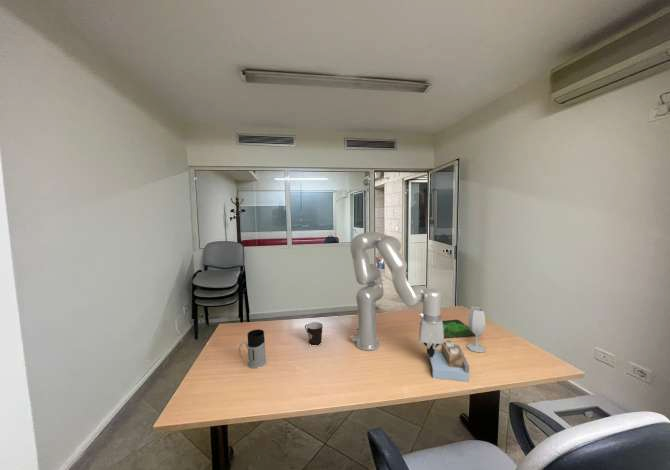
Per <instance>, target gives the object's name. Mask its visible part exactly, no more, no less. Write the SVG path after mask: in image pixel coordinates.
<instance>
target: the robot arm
mask: <svg viewBox="0 0 670 470" xmlns="http://www.w3.org/2000/svg"><path fill="white" fill-rule="evenodd" d="M401 243H402V242H400V240H399V239H398V238H396V237H394V236H391V235H388V234H384V233H381V232H378V231H377V232H376V231H371V232H363V233H359V234H358V235H356V236H354V237H353V239H352V240H351V242H350V246H349V248H350V254H351V258H352V262H353V270H354V276H355V280H356V282H357V283H358V284H359V285H363V287H362V288H360V289H359V290H357V292H356V295H355V298H356V303H357V312H358V315H357V317H358V318H357V319H358V321H357V322H358V323H357V325H358V328H357V329H358V330H357V331H358V334H356V335H353V334H351V335H350V340H351V341H352V342H355V346H356V347H357V349H359V350H363V351H375V350H378V349H379V347H380V341H379V340H378V339H377V310H376V307H375V303H376V302H378V301H380V300H381V299H382V298H383V296H384V286H383V285H384V284H383V279H382V273H381V270H380V268H379V267H378V266H377V264H374V263H371V262H370V258H369V255H368V253H367V250H370V249H377V251H378V253H379V254H380V256H381V258H382V260H383V261H384V263H385V264H386V266H387V268H388V270H389V271H390V274H391V280H392V284H393V286H394V289H395V290H394V291H396V293H397V295H398V297H399V298H400V300H401V301H402V303H404V305H406V306H408V307H415V306H417V305H418V304H419V303H422V312H421V313H419V317H421V319H420V322H419V323H420V324H419V332H418V336H419V337H418V342H419V344H422V345H424V346H425V347H426V354H427V355H428V354H429V357H433V355H434V352H435V349H436V348H437V347H439V346H442V345H443V344H444V342H445V341H444V340H445V339H444V329H443V322H442V321H443V320H442V319H441V317H442V314H441V313H442V312H441V311H442V293H441V291H440V290H439V289H435V288H429V287H425V286H423V285H418V284H416V285H413V286H411V284H410V283H409V281H408V279H407V269H408V265H407V262H406V260H405V259H404V257H403V255H402V254H401V252H400V251H401V249H402V244H401ZM364 285H365V286H364Z"/></svg>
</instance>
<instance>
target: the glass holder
mask: <svg viewBox="0 0 670 470" xmlns="http://www.w3.org/2000/svg"><path fill="white" fill-rule="evenodd" d="M265 337H266V336H265V331H264V330H263V329H252V330H250V331H249V332H247V341H243V342H241V343H240V344H239V347H238V353H239V356H240V358H241V359H242V360H244V361H246V362H247V367H248V366H249V367H248V368H250V367H251V368H250V369H259V368H258V367H260V368H262V367H264V366H265V365H266V364H267V363H266V360H267V359H266V340H265ZM243 344H245V346H246V349H247V356H248V359H246V358H245V357H243V356H242V353H241V347H242V345H243ZM265 363H266V364H265ZM264 364H265V365H264ZM263 365H264V366H263ZM261 366H262V367H261Z"/></svg>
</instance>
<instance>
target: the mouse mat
mask: <svg viewBox="0 0 670 470" xmlns="http://www.w3.org/2000/svg"><path fill="white" fill-rule="evenodd" d="M442 322H443V329H444V340H445V339H457V338H470V337H475V334H474V333H473V332H472V331H471V330H470V329H469V325H466V324H465V323H464V322H463V321H462V320H460V319H449V320H442Z"/></svg>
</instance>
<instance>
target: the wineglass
mask: <svg viewBox="0 0 670 470" xmlns="http://www.w3.org/2000/svg"><path fill="white" fill-rule="evenodd" d="M467 322H468V323H467V324H468V325H467V326H468V327H469V329H470V330H471V331H472V332H473V333H474V334H475V336H474V342H469V343H467V344H466V347H467V349H468V350H470V351H471V352H475V353H486V347H485V346H484V345H483V344H481V343H479V336H480V335H481V334H484V333H485V330H486V322H487V319H486V313H485V309H484V308H482V307H478V306H471V307H470V310H469V313H468V321H467Z"/></svg>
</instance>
